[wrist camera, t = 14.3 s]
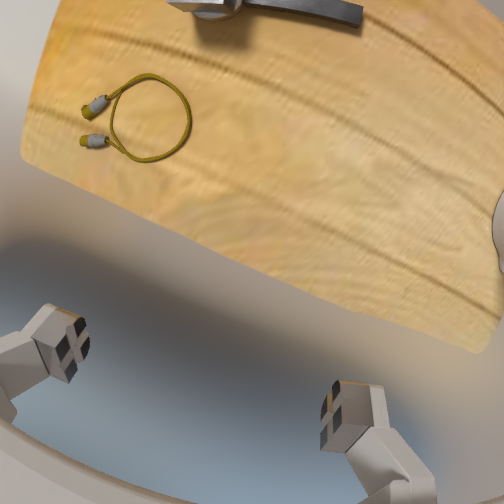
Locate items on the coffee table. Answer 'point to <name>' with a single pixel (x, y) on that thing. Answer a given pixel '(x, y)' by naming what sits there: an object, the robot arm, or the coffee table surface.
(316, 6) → the ratchet
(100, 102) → the extension cord
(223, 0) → the socket
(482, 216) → the coffee table surface
